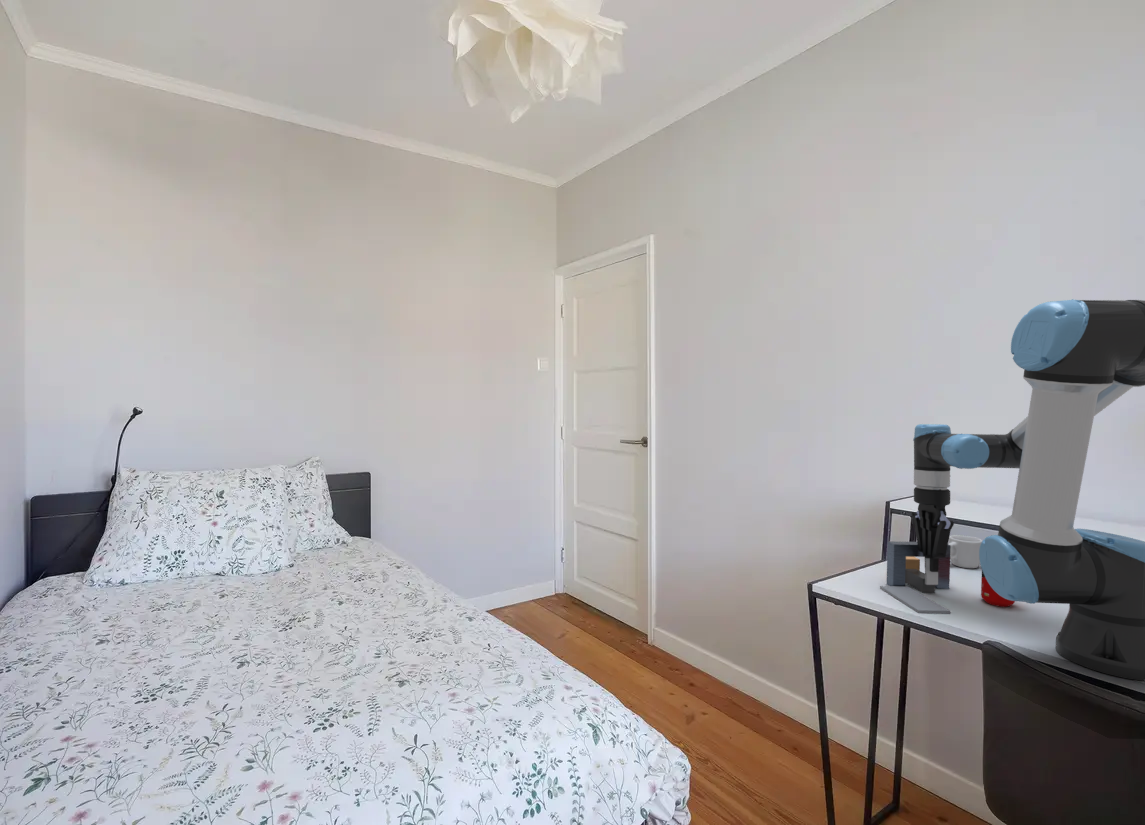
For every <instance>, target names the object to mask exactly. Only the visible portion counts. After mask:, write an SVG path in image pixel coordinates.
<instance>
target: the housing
mask: <svg viewBox="0 0 1145 825" xmlns="http://www.w3.org/2000/svg"><path fill="white" fill-rule="evenodd" d="M950 548H951V545H949V544H948V546H947V551H946V556H945V558H939V569H938V585H935V589H937V590H949V589H950V578H951V577H950V576H951V575H950V574H951V560H950V556H951V555H950ZM886 549H887V552H886V553H887V555H886V562H887V563H886V586H906V583H905V572H906V557H916V558H925V556H923V553H922V552H919V550H918V544H917V541H887V548H886Z"/></svg>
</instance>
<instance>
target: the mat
mask: <svg viewBox="0 0 1145 825" xmlns="http://www.w3.org/2000/svg"><path fill="white" fill-rule="evenodd" d="M879 589H881V590H882V591H884V592H885V593H886V594H888V595H889V596H890V597H892V598H895V599H896V600H897V601H899V602H901V603H902V604H904V605H905V606H906V607H908V608H910V609H911V608H912V609H911V610H913V611H914V612H916V613H918V614H949V615H950V614H951V610H950V609H948V608H946V607H944V605H941V604H939V603H937V602H936V601H934V600H932V599H931V598H929V597H927V596H925V595H924V594H923V593H921V592H920V591H918V590H916V589H914V588H913V587H911V586H906V585H905V586H889V585H881V586H879Z"/></svg>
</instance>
